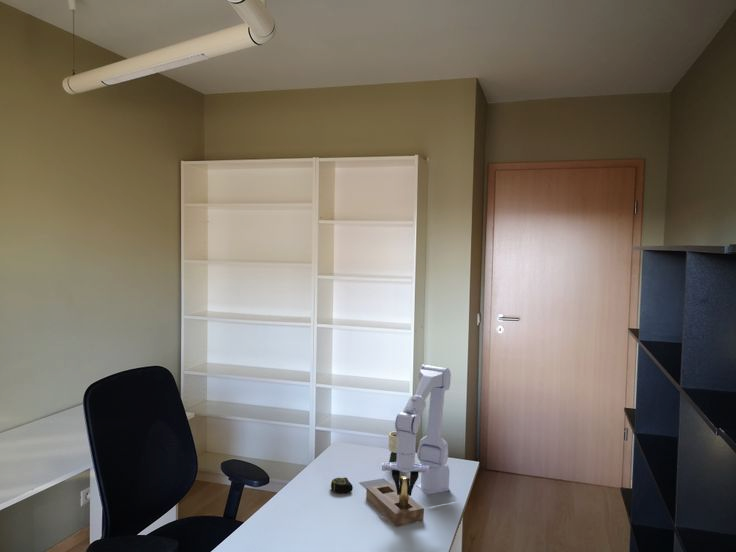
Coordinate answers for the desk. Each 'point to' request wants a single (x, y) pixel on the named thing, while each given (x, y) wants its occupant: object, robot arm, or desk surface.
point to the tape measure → (341, 485)
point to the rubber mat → (374, 483)
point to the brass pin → (404, 490)
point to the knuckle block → (394, 505)
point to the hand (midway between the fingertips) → (404, 494)
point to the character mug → (393, 446)
